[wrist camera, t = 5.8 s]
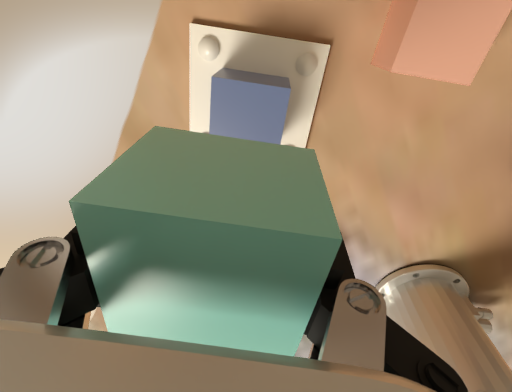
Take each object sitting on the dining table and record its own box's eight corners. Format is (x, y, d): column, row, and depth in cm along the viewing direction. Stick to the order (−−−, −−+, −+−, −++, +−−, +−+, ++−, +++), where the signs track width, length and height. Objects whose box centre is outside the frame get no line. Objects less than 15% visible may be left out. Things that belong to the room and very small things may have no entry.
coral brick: (475, -8, 21) (525, -17, 17) (435, 75, 24) (469, 85, 20) (399, -22, 21) (431, -35, 16) (370, 63, 24) (390, 71, 20)
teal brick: (314, 149, 10) (342, 239, 6) (284, 260, 13) (288, 369, 9) (154, 125, 10) (69, 201, 6) (163, 244, 13) (112, 347, 9)
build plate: (329, 44, 23) (342, 49, 19) (299, 168, 30) (303, 195, 25) (191, 23, 23) (169, 22, 18) (190, 152, 29) (174, 176, 25)
